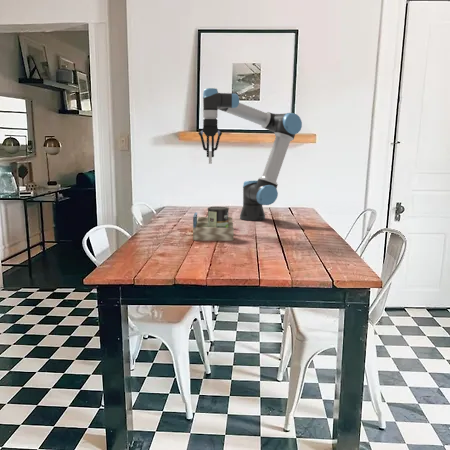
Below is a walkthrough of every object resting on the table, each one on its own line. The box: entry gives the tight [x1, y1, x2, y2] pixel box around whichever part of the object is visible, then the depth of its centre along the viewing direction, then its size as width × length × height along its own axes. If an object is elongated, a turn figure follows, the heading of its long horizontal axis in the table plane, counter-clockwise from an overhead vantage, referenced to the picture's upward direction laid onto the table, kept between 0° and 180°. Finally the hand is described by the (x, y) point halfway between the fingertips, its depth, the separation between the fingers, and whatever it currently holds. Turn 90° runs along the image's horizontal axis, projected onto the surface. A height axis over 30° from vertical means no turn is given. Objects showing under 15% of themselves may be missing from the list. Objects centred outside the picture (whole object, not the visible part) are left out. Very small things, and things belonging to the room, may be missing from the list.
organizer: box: [192, 212, 235, 242], centre depth 237 cm, size 19×32×11 cm, turn 0°
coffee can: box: [207, 206, 230, 228], centre depth 229 cm, size 10×10×14 cm
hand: (210, 163), depth 252 cm, fingers closed
